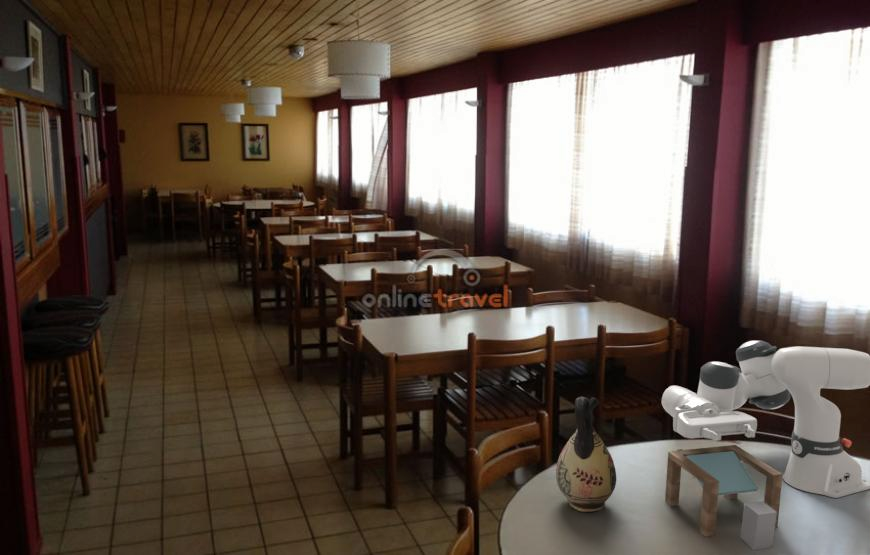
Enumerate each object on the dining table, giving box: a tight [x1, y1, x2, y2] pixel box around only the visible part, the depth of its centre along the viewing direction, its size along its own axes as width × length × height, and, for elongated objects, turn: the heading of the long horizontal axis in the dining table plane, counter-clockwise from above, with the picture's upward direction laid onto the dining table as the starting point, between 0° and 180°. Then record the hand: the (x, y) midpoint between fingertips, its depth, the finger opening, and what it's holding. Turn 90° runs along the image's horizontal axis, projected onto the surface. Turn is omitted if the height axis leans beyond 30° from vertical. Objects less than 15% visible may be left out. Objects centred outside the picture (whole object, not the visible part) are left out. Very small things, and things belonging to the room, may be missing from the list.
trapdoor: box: [686, 451, 759, 497], centre depth 186 cm, size 14×12×1 cm
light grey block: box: [740, 500, 777, 550], centre depth 173 cm, size 5×5×9 cm
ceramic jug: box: [555, 396, 617, 512], centre depth 189 cm, size 17×15×30 cm
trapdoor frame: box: [664, 444, 784, 537], centre depth 186 cm, size 20×18×14 cm
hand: (735, 436), depth 180 cm, fingers open, 8 cm apart
